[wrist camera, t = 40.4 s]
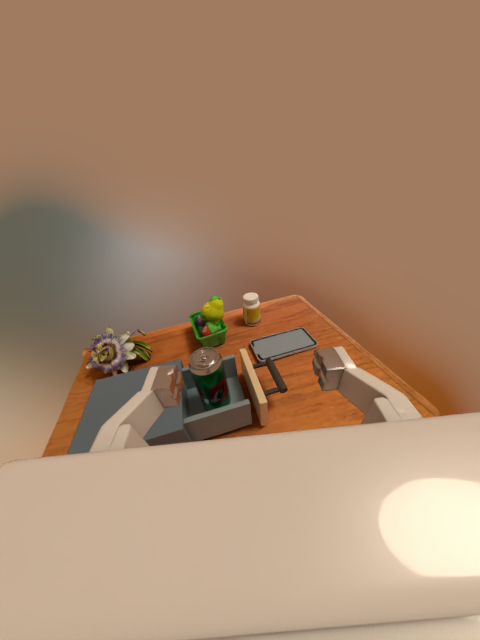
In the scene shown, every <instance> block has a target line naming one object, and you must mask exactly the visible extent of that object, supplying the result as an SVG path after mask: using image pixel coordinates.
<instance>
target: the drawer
mask: <svg viewBox="0 0 480 640" xmlns="http://www.w3.org/2000/svg"><path fill="white" fill-rule="evenodd" d="M239 351H240V358H241V365H242V372H243V375H244V378H245V381H246V384H247V387H248V389H249V392H250V395H251V398H252V401H253V404H254V407H255V410H256V412H257V415H258V418H259V421H260V424H261V426H264V425H267V424H268V405H267V399H266V397H265V396H267V395H271V394H274V393H277V392H279V391H280V393H285V392H286V391H287V390H288V389H287V387H286V385H285V383H284V381H283V379H282V377H281V376H280V374H279V372H278V370H277V368H276V366H275V364H274V362H273V361H272V359H271V358H268V359H266V360H265V362H261V363H258V364H254V365H252V363H251V361H250V358H249V356H248V354H247V351H246V349H245V348H243V349H240V350H239ZM222 360H223V364H224V369H225V373H226V378H227V383H228V387H229V392H230V396H231V402H230V405H227V406H223V407H220V408H217V409H214V410H210V411H206V410H205V409H204V407H203V404H202V402H201V399H200V396H199V394H198V391H197V389H196V386H195V383H194V381H193V378H192V375H191V373H190V370H189V366H188V367H184V368H182V376H183V413H184V427H185V429H186V431H187V433H188V434H189V436H190V438H191V440H192V442H195V441H200V440H204V439H207V438H210V437H213V436H216V435H219V434H222V433H225V432H228V431H231V430H235V429H238V428H241V427H244V426H247V425H250V424H252V416H251V407H250V402H249V399H247V400H245V397H244V394H243V391H242V388H241V385H240V382H239V378H238V375H237V369H236V363H235V357H234V355H230V356H226V357H222ZM266 365H267V367H268V369H269V371H270V373H271V375H272V377H273V379H274V381H275V383H276V385H277V388H273V389H270V390H267V391H263V390H262V387H261V385H260V383H259V380H258V378H257V375H256V373H255V370H254V369H255V368H259V367H263V366H266Z"/></svg>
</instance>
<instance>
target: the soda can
mask: <svg viewBox="0 0 480 640" xmlns="http://www.w3.org/2000/svg"><path fill="white" fill-rule="evenodd" d="M189 370H190V373H191V375H192V378H193V381H194V383H195V386H196V389H197V391H198V394H199V396H200V399H201V402H202V404H203V407H204V409H205V410H206V411H210V410H214V409H217V408H220V407H223V406H227V405H230V402H231V396H230V392H229V387H228V383H227V378H226V373H225V369H224V364H223V360H222V356H221V355H220V354H219V353H218V351H217V350H216V349H214V348H211V347H203V348H200V349H198V350H196V351H195V352H194V353H193V354H192V355H191V356H190V360H189Z"/></svg>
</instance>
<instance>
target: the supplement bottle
mask: <svg viewBox="0 0 480 640" xmlns="http://www.w3.org/2000/svg"><path fill="white" fill-rule="evenodd" d="M243 315H244V322H245V324H246V325H248V326H256V325H258V324H259V323H260V321H261V318H260V302H259V301H258V295H257V294H256V293H247V294H245V295H244V296H243Z"/></svg>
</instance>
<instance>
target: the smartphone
mask: <svg viewBox="0 0 480 640" xmlns="http://www.w3.org/2000/svg"><path fill="white" fill-rule="evenodd" d="M317 344H318V343H317V342H316V340H315V339H314V338H313V337H312V336H311V335H310V334H309V333H308V332H307V331H306V330H305V329H304V328H302V327H300V328H296V329H292V330H288V331H284V332H280V333H277V334H273V335H269V336H265V337H261V338H258V339H254V340H251V341H250V345H251V347H252V349H253V351H254V353H255V355H256V357H257V359H258V361H259V362H265V360H266V359H268V358H271V359H272V360H274V359H278V358H281V357H285V356H288V355H292V354H295V353H299V352H302V351H305V350H309V349H312V348H316V347H317Z"/></svg>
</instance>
